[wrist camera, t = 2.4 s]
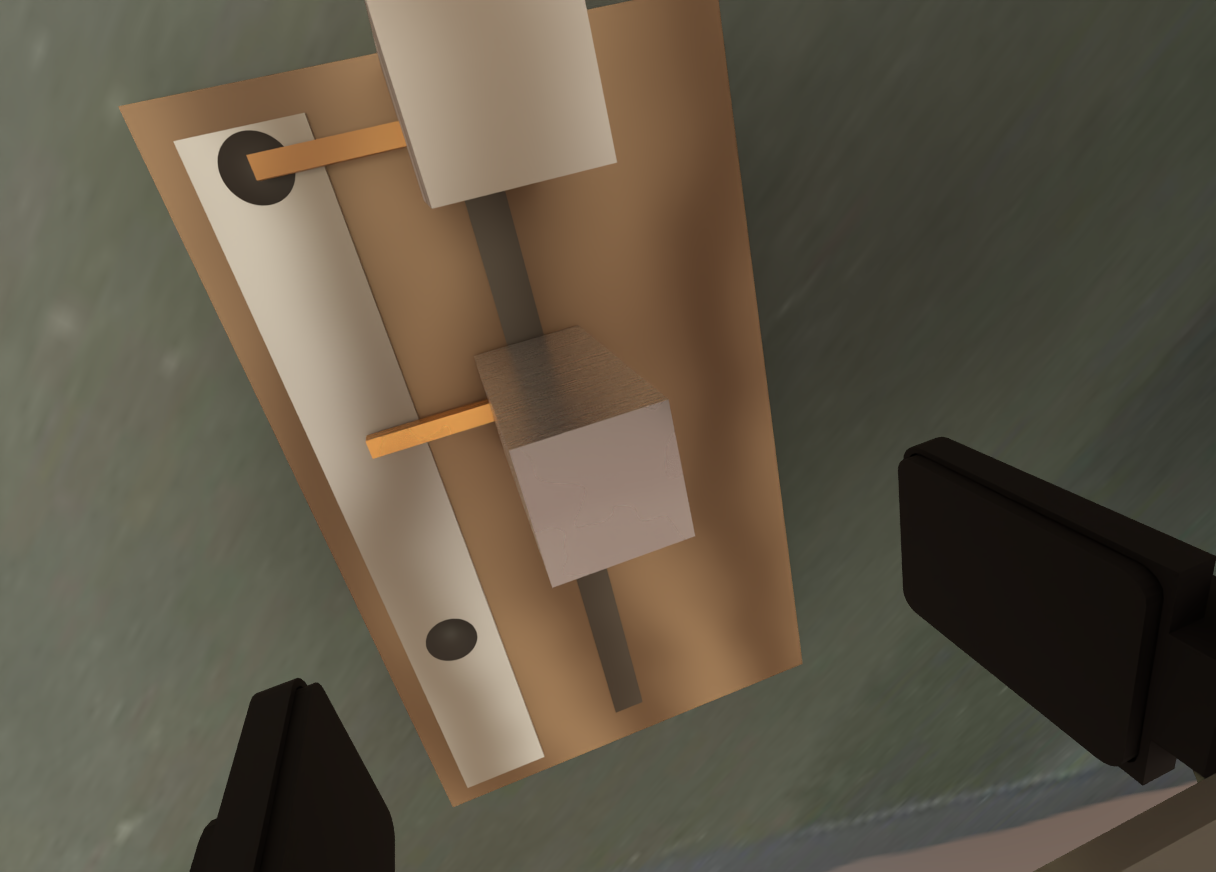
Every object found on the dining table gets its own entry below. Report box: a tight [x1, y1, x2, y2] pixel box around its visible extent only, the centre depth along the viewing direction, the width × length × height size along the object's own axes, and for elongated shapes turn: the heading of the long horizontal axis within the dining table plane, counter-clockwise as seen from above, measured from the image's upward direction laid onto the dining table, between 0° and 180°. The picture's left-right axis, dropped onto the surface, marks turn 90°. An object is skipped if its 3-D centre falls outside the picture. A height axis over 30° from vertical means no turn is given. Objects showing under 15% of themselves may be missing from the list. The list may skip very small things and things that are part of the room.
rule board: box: [118, 0, 802, 807], centre depth 20 cm, size 16×26×10 cm, turn 13°
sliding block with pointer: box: [365, 325, 695, 588], centre depth 17 cm, size 7×3×8 cm, turn 103°
